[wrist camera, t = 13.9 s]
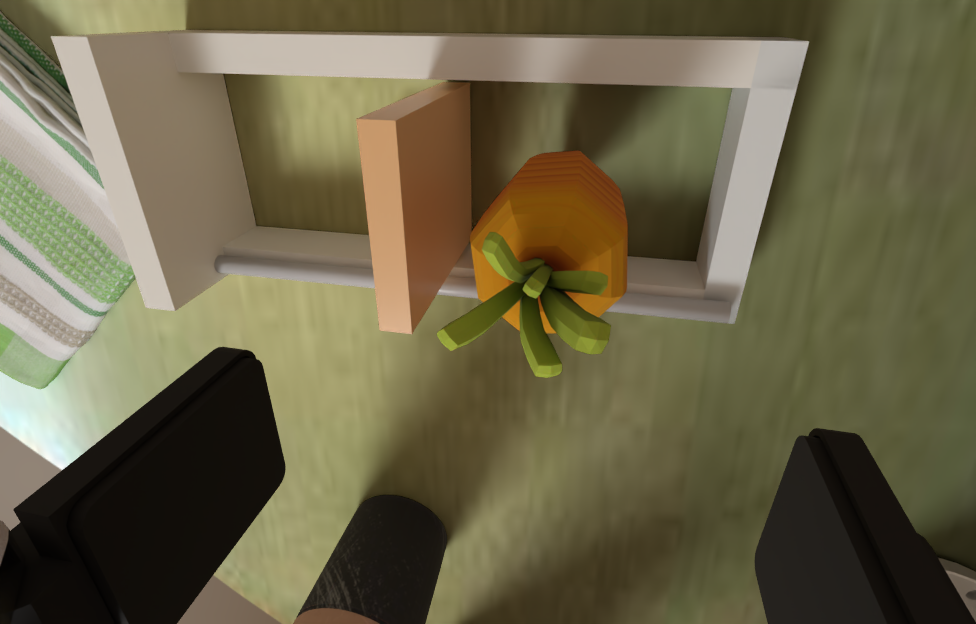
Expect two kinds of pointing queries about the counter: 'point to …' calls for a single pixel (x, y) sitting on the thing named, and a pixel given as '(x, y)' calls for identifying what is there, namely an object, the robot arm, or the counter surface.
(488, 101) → the counter surface
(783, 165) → the counter surface
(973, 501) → the counter surface
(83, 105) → the frame
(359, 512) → the travel mug
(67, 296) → the dish towel
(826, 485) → the robot arm
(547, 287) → the carrot
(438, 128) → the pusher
